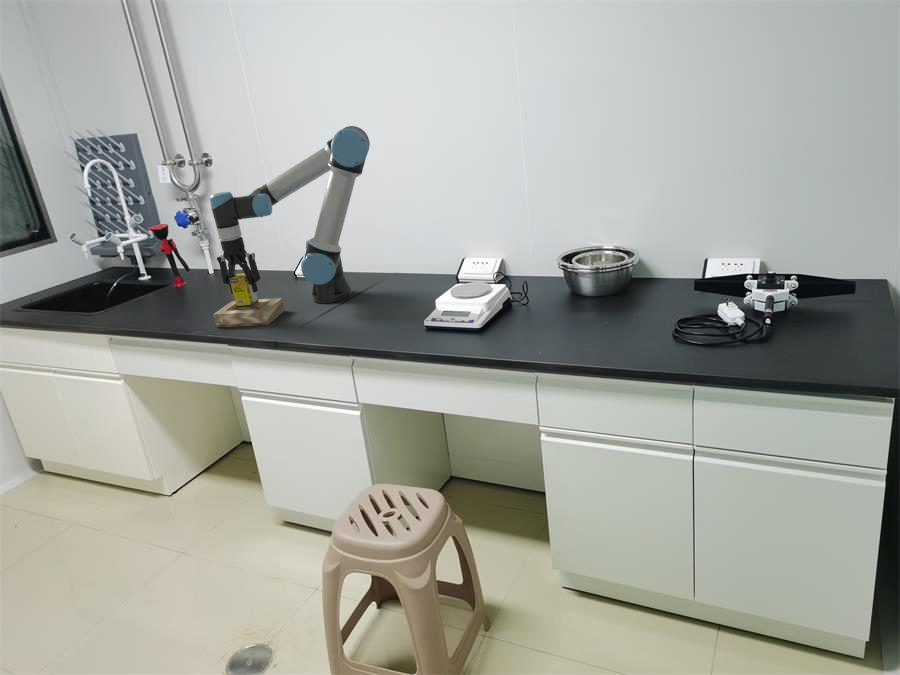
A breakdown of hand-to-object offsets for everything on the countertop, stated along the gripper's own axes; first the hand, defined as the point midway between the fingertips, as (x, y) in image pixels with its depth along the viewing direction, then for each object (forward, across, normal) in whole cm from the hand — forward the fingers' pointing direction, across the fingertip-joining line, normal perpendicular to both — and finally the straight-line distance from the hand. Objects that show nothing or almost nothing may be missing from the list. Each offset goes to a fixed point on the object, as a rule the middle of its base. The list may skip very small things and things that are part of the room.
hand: (246, 301), depth 231 cm
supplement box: (+2, 0, 0) cm, 2 cm away
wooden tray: (+7, 0, 0) cm, 7 cm away
